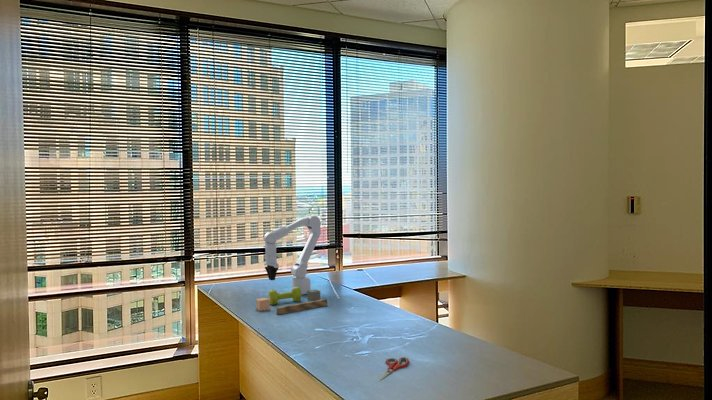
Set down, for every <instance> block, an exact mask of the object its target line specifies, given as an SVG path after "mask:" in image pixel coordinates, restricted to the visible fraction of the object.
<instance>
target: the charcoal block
mask: <svg viewBox="0 0 712 400" xmlns="http://www.w3.org/2000/svg"><path fill="white" fill-rule="evenodd" d="M306 295H307V296H306V297H307V298H306V299H307V302H310V301H316V300H322V298H321V290H318V289H311V290H309V291H307V294H306Z"/></svg>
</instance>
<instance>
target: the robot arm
mask: <svg viewBox="0 0 712 400" xmlns="http://www.w3.org/2000/svg"><path fill="white" fill-rule="evenodd" d="M321 223H322V222H321V219H320V217H318V216H317V215H310V214H309V215H306V216H303V217H301V218H299V219H297V220H295V221H293V222H292V223H290V224H288V225H279V226H278V227H277V228H275V229H271V232H270V231H268V232H266V233H265V234H264V236H263V240H264V242H265V245H264V250H265V253H264V254H265V261H264V263H263V265H264V270H265V271H266V274H267V277H268V279H269V280H270V281H275V280H276V276H277V272H278V270H279V263H278V261H277V244H276V243H277V241H280V240H281V239H283V238H285V237H287V236H289V234H290V232H291V231H293V230H296V229H298V228H300V227H303V226H304V227H306V228H308V231H309V233H310V234H309V236H308V239H307V241H306V243H305V245H304V248H303V250H302V251H301V253H300V256H299V258H298V259H297V260H296V261H295V263H294V265H292V266H291V268H290V272H291V275H292V277H291V278H292V279H291V280H292V281H291V282H292V288H293V287H299V288H300V290H301V296H302V295H307V291H309V290H312V288H311V278H310V277H309V276H306V275H307V269H308V267H309V266H308V263H309V260H310V258H311V256H312V253H313V251H314V249H315V247H316V245H317V243H318V240H319V239H320V236H321V234H322V231H321V230H322V229H321Z"/></svg>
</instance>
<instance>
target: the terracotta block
mask: <svg viewBox="0 0 712 400" xmlns="http://www.w3.org/2000/svg"><path fill="white" fill-rule="evenodd" d="M255 306H256V307H255V310H257V311H260V312H263V310H264V311H267V310H268V309H269V310H270V309H271V307H270V306H271V304H270V300H269V298H267V297H261V298H255Z"/></svg>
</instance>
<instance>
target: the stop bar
mask: <svg viewBox="0 0 712 400" xmlns="http://www.w3.org/2000/svg"><path fill="white" fill-rule="evenodd" d="M321 307H328V299H326V298H321V300H316V301H306V302H301V303H294V304H288V305H282V306H278V307H277V306H276V314H277V315H278V316H279V315H284V314H289V313H294V312H301V311H305V310H310V309H317V308H321Z"/></svg>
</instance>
